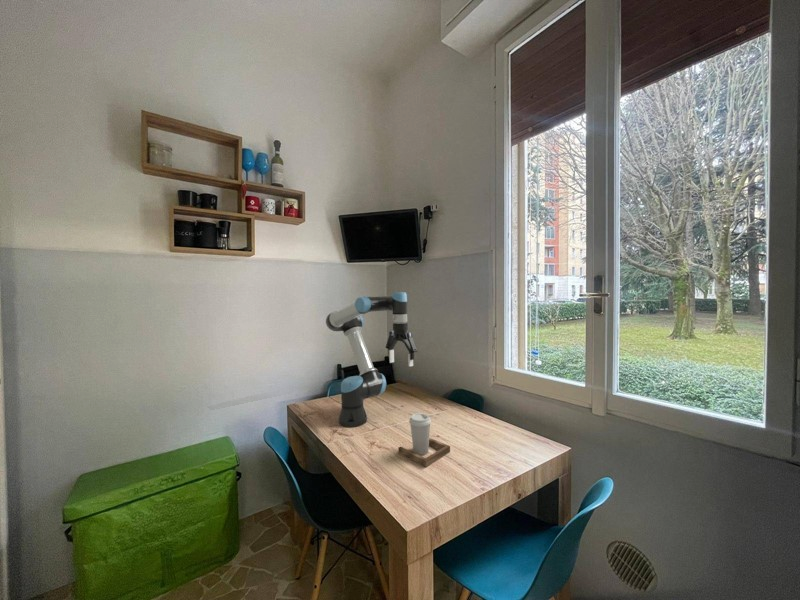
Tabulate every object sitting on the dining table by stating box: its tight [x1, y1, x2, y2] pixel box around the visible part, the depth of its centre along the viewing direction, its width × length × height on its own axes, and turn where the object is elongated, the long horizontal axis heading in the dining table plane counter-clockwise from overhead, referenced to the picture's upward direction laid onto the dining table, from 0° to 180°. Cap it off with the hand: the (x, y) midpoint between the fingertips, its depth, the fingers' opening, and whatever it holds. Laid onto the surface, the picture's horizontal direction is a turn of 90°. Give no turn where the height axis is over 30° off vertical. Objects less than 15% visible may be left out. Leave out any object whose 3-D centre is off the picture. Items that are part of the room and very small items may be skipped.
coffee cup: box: [408, 412, 432, 456], centre depth 132 cm, size 10×10×15 cm
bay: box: [397, 437, 451, 468], centre depth 131 cm, size 16×16×2 cm
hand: (401, 364), depth 155 cm, fingers open, 13 cm apart
